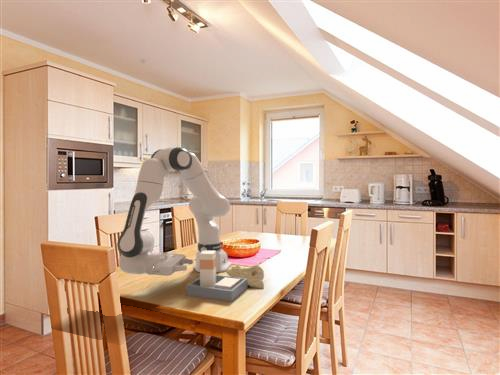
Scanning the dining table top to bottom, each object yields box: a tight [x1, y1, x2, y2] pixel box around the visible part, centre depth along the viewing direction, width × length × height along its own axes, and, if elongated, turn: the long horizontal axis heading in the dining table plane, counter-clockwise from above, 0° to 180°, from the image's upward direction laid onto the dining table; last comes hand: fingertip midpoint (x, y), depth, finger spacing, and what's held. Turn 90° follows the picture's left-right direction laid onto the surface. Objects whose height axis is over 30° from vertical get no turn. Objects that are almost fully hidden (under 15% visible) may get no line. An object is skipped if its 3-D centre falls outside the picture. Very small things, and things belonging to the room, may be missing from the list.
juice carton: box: [199, 250, 217, 288], centre depth 131 cm, size 6×6×16 cm
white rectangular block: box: [214, 277, 240, 290], centre depth 128 cm, size 10×7×4 cm
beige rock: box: [225, 264, 265, 289], centre depth 139 cm, size 15×7×15 cm
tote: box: [185, 274, 249, 303], centre depth 130 cm, size 16×20×5 cm
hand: (189, 264), depth 132 cm, fingers open, 8 cm apart
